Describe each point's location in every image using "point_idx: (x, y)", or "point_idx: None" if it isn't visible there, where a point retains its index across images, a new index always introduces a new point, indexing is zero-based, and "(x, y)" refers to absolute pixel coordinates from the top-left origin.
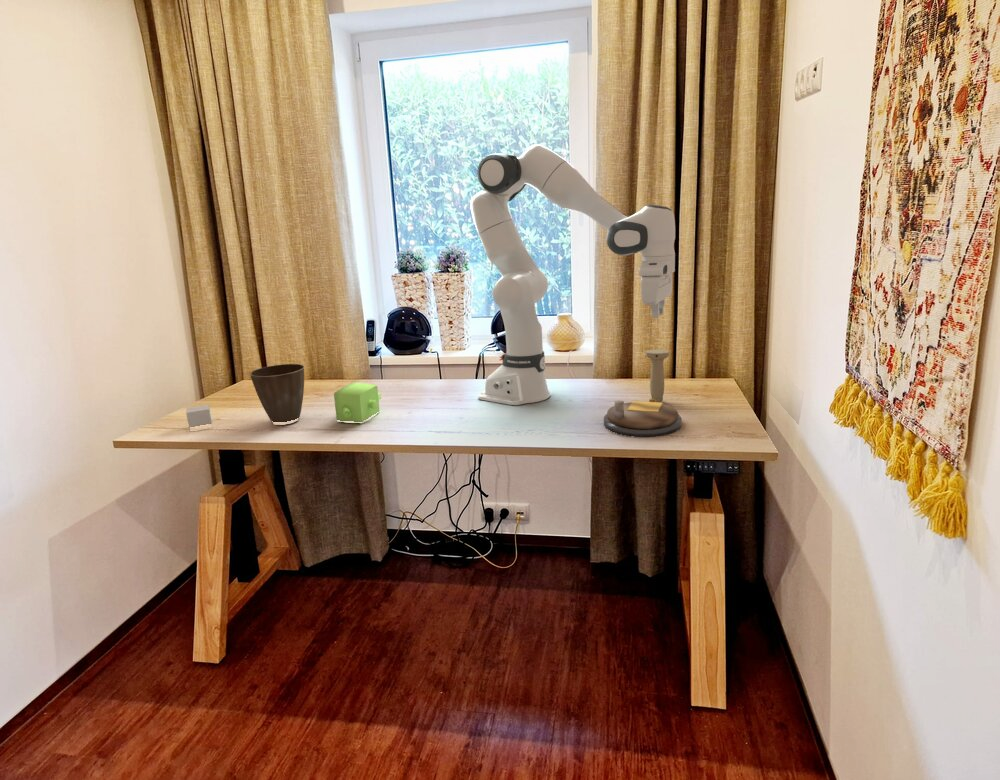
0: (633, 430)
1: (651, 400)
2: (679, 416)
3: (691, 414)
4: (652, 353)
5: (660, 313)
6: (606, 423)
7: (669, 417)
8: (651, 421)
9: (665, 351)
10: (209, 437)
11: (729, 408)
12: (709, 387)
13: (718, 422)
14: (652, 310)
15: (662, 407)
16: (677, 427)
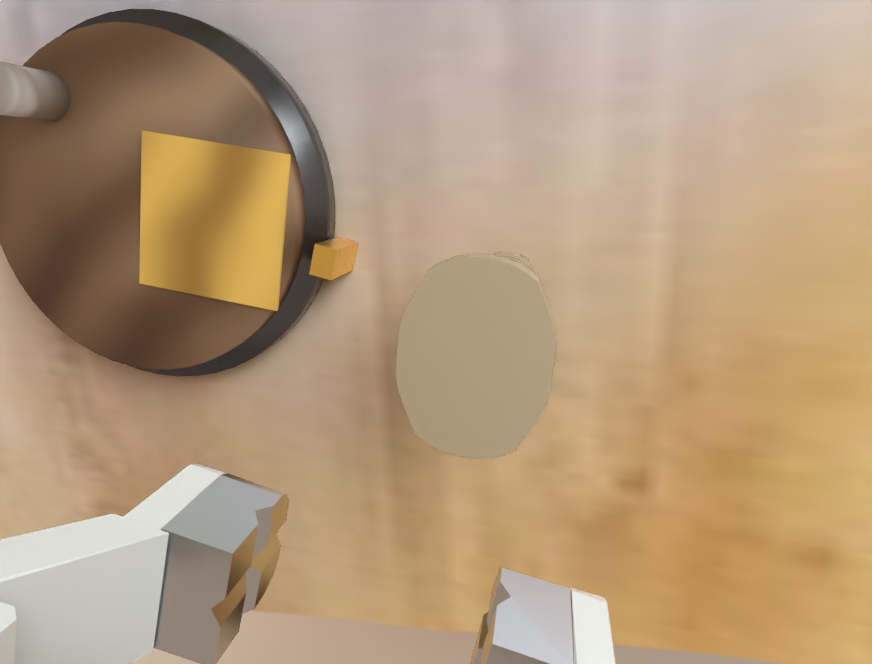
0: None
1: (312, 256)
2: (206, 370)
3: (322, 421)
4: (403, 315)
5: (475, 647)
6: (62, 34)
7: (85, 328)
8: (20, 250)
9: (473, 429)
10: None
11: (415, 578)
12: (777, 566)
13: None
14: (70, 541)
15: (214, 306)
16: None
